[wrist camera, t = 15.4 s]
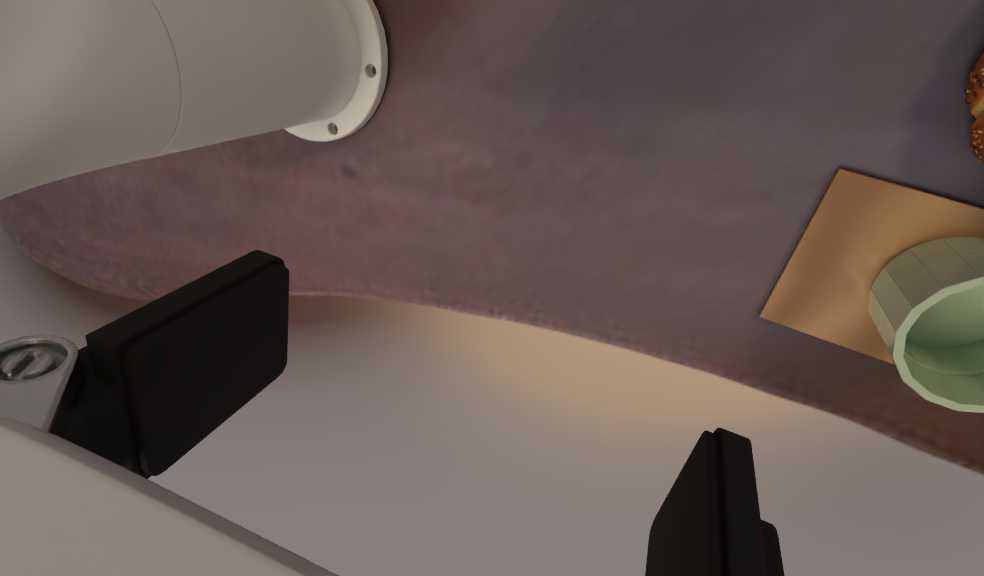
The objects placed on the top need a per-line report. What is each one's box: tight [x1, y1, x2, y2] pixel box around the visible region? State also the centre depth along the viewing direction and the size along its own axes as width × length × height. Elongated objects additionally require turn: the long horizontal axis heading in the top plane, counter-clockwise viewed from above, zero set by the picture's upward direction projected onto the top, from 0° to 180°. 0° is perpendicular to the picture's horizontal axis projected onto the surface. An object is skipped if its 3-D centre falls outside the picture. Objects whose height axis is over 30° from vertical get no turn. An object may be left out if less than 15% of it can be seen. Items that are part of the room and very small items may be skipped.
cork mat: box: [759, 168, 984, 364], centre depth 30 cm, size 16×10×1 cm, turn 78°
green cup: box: [868, 237, 984, 413], centre depth 28 cm, size 7×7×6 cm
